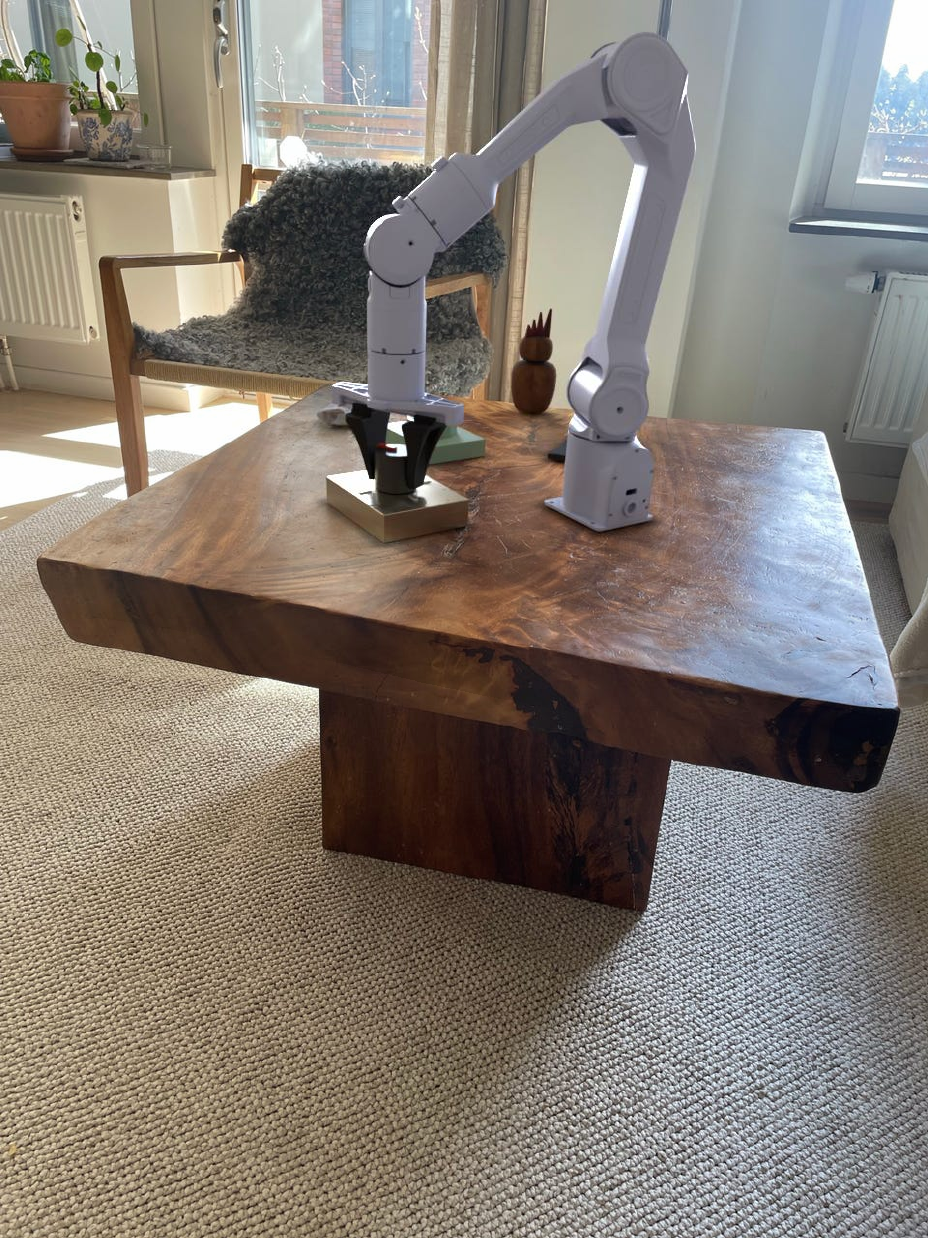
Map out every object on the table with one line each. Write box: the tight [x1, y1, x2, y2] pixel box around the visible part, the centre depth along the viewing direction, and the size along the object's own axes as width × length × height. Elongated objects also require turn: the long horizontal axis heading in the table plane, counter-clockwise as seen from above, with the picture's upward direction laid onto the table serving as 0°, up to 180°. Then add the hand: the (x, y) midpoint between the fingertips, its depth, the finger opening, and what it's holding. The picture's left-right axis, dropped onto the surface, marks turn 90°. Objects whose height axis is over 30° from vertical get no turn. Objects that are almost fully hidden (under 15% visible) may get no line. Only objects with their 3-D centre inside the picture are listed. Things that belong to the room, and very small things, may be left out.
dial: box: [375, 443, 415, 494], centre depth 93 cm, size 4×4×4 cm
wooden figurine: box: [510, 308, 557, 414], centre depth 133 cm, size 7×6×15 cm
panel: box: [325, 469, 470, 544], centre depth 94 cm, size 13×10×3 cm
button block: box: [385, 416, 487, 466], centre depth 116 cm, size 12×9×4 cm
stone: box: [316, 402, 352, 427], centre depth 126 cm, size 10×7×3 cm
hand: (395, 481), depth 93 cm, fingers closed on dial, 4 cm apart
